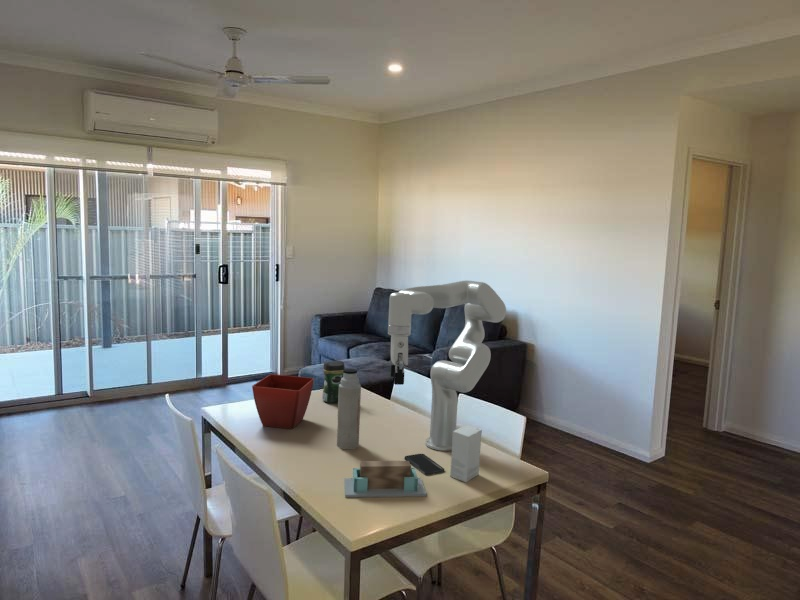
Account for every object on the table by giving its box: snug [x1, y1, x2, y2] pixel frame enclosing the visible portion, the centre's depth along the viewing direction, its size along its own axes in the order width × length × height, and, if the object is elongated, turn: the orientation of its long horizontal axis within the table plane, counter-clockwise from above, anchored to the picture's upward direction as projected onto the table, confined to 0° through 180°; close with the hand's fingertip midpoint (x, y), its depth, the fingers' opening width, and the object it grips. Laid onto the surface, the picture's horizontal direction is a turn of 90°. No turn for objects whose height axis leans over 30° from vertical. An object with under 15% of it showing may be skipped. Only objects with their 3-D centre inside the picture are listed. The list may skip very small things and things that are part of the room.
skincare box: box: [449, 424, 483, 483], centre depth 180 cm, size 8×7×16 cm
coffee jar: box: [322, 360, 346, 404], centre depth 254 cm, size 10×8×19 cm
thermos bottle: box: [336, 368, 362, 450], centre depth 201 cm, size 8×8×28 cm
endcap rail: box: [343, 467, 427, 498], centre depth 169 cm, size 24×11×5 cm, turn 97°
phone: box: [404, 453, 445, 476], centre depth 188 cm, size 8×1×15 cm
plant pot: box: [251, 373, 315, 430], centre depth 222 cm, size 19×19×17 cm
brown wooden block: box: [359, 460, 412, 489], centre depth 169 cm, size 15×4×7 cm, turn 97°
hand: (397, 380), depth 186 cm, fingers open, 9 cm apart
